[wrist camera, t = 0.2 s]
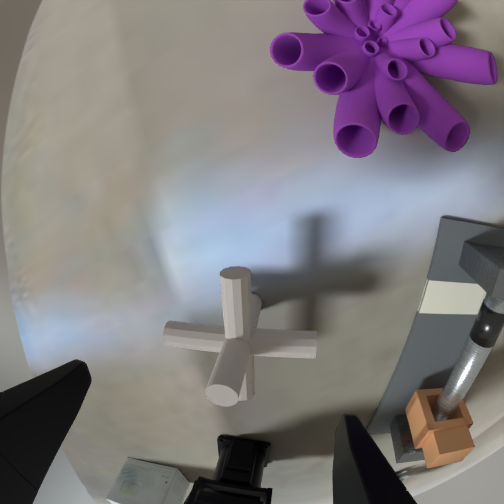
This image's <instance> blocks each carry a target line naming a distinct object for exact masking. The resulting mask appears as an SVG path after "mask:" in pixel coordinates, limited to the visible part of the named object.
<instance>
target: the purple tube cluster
mask: <svg viewBox="0 0 504 504" xmlns="http://www.w3.org/2000/svg"><path fill="white" fill-rule="evenodd" d="M333 2H334V4H335V5H334V4H333V3H332V2H331V1H330V0H306V1H305V2H304V4H303V9H304V12H305V14H306V16H307V17H308V18H309V20H310V21H311V22H312V23H313V24H314V25H315V26H316V27H317V28H318V29H319V30H321V31H322V32H324V33H323V34H309V33H283V34H280V35H278V36H277V37H276V38H275V39H274V40H273V42H272V43H271V47H270V54H271V57H272V59H273V60H274V62H275V63H276V64H278V65H279V66H281V67H284V68H287V69H291V70H297V71H314V75H313V77H314V82H315V84H316V86H317V87H318V88H319V89H320V90H321V91H322V92H324V93H326V94H330V95H338V94H339V98H338V103H337V107H336V113H335V119H334V131H333V132H334V140H335V144H336V145H337V147H338V149H339V150H340V151H341V152H342V153H344V154H345V155H347V156H350V157H354V158H362V157H366V156H368V155H369V154H371V153H372V152H373V151H374V150H375V148H376V145H377V142H378V138H379V132H380V125H381V119H382V120H383V121H384V123H385V124H386V125H387V126H388V127H389V128H390V129H391V130H392V131H394V132H395V133H398V134H408V133H411V132H412V131H414V130H415V129H416V127H417V126H419V127H420V128H421V129H422V130H423V131H424V132H425V133H426V134H427V135H428V136H429V137H430V138H431V139H432V140H434V141H435V142H436V143H437V144H438V145H440V146H441V147H442V148H444V149H445V150H447V151H450V152H456V151H458V150H460V149H461V148H462V147H463V146H464V145H465V144H466V142H467V140H468V138H469V135H470V128H469V125H468V123H467V122H466V120H465V119H464V118H463V117H462V116H461V115H460V114H459V113H458V112H457V111H456V110H455V109H454V108H453V107H452V106H451V105H450V104H449V103H448V102H447V101H446V100H445V99H444V98H443V97H442V96H441V95H440V94H439V93H438V92H437V91H436V90H435V88H434V87H433V86H432V85H431V84H430V83H429V82H428V81H427V80H426V79H425V78H424V76H423V75H422V74H427V75H431V76H435V77H439V78H443V79H448V80H453V81H458V82H465V83H471V84H482V85H493V84H496V82H497V68H496V63H495V59H494V56H493V54H492V53H491V52H489V51H485V50H482V49H476V48H471V47H466V46H460V45H454V44H449V43H451V42H452V41H454V40H455V39H456V31H455V29H454V27H453V26H452V24H451V23H450V22H449V21H448V20H447V19H445V18H441V17H442V16H444V15H445V14H446V13H447V12H448V11H449V10H450V9H451V8H453V7H454V5H455V4H456V3H457V0H333ZM421 73H422V74H421Z"/></svg>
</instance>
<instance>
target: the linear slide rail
mask: <svg viewBox="0 0 504 504" xmlns="http://www.w3.org/2000/svg"><path fill="white" fill-rule="evenodd" d="M458 265H459V266H460V267H461V268H462V269H463V270H464V271H465V272H466V273H467V274H468V275H469V276H470V277H471V278H472V279H473V280H474V281H475V282H476V283H477V284H478V285H479V286H480V287H481V288H482V289H483V290H484V291H485V292H486V296H485V298H484V299H483V302H482V304H481V307H480V310H479V312H478V315H477V317H476V320H475V322H474V325H473V327H472V329H471V332H470V336H469V338H468V340H467V343H466V345H465V347H464V349H463V351H462V353H461V355H460V357H459V359H458V361H457V363H456V365H455V367H454V369H453V371H452V373H451V375H450V377H449V379H448V380H447V382H446V384H445V386H444V388H443V389H442V391H441V393H440V395H439V396H438V398H437V400H436V401H435V403H434V404H433V406H432V408H431V412H432V415H433V418H434V421H435V422H438V421H445V420H449V419H450V418H451V416H452V415H453V413H454V412H455V410H456V409H457V407H458V406H459V404H460V403H461V401H462V400H463V398H464V397H465V395H466V393H467V392H468V390H469V389H470V387H471V385H472V384H473V382H474V380H475V379H476V377H477V375H478V373H479V372H480V370H481V368H482V366H483V364H484V362H485V360H486V359H487V357H488V355H489V353H490V351H491V349H492V347H493V346H494V345H495V343H496V340H497V338H498V336H499V334H500V332H501V330H502V327H503V325H504V247H499V246H493V245H486V244H480V243H473V242H466V241H464V244H463V248H462V252H461V256H460V260H459V264H458ZM390 431H391V436H392V441H393V446H394V452H395V458H396V463H403V462H411V461H418V460H425V458H424V453H423V449H422V448H418V449H415V447H414V442H413V438H412V434H411V430H410V426H409V422H408V418H407V415H397V416H395V417H394V419H393V421H392V423H391V424H390Z"/></svg>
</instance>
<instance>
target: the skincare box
mask: <svg viewBox="0 0 504 504" xmlns="http://www.w3.org/2000/svg"><path fill="white" fill-rule="evenodd" d="M189 484H190V483H189V482H188V480H187V479H186V478H185V477H184V476H183V474H182V473H181V472H180V471H179V470H178V468H175V467H169V466H164V465H159V464H154V463H150V462H145V461H141V460H137V459H133V458H129V457H128V458H127V459H126V461H125V463H124V465H123V467H122V469H121V471H120V473H119V474H118V476H117V478H116V480H115V482H114V484H113V486H112V488H111V489H110V491H109V493H108V495H107V497H106V499H107V500H108V501H109V502H110V503H112V504H182V502H183V500H184V497H185V494H186V491H187V489H188V487H189Z"/></svg>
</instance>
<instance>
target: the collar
mask: <svg viewBox="0 0 504 504" xmlns="http://www.w3.org/2000/svg"><path fill="white" fill-rule="evenodd" d="M442 389H443V388H435V389H421V390H416V391H415V392H414V394H413V396H412V398H411V400H410V402H409V403H408V405H407V407H406V409H405V411H406V415H407V418H408V422H409V426H410V430H411V434H412V438H413V442H414V447H415V449H418V448H422V449H423V453H424V458H425V462H426V466H427V468H432V467H437V466H442V465H446V464H451V463H455V462H459V461H462V460H463V459H464V458H465V457H466V456H467V455H468V454H469V453H470V452H471V450H472V449H473V448H474V447H475V446H474V443H473V440H472V437H471V435H470V432H469V428H470V427H471V425H472V424H473V421H472V419H471V416H470V414H469V411H468V409H467V407H466V404H465V402H464V400H462V401H461V403H460V404H459V406H458V407H457V409H456V410H455V412H454V413H453V415H452V416H451V418H450V419H449V420H445V421H438V422H435V421H434V418H433V415H432V412H431V408H432V406H433V404H434V403H435V401H436V400H437V398H438V396H439V395H440V393H441V391H442Z"/></svg>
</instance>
